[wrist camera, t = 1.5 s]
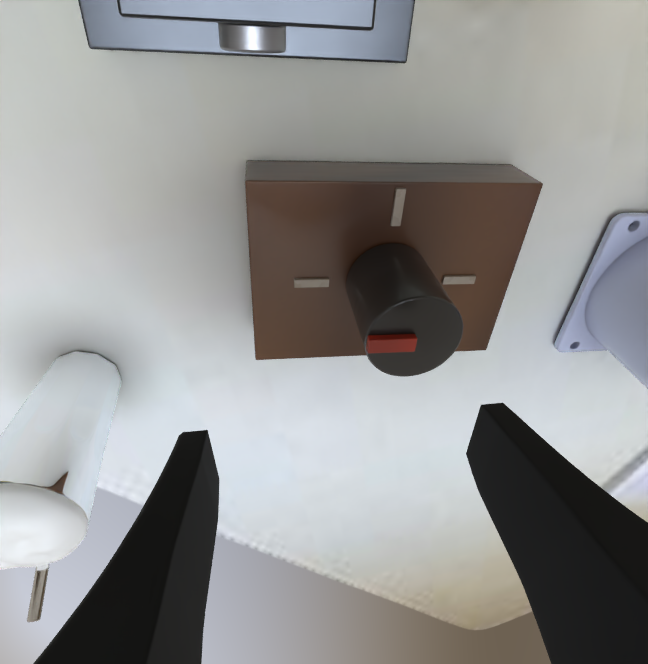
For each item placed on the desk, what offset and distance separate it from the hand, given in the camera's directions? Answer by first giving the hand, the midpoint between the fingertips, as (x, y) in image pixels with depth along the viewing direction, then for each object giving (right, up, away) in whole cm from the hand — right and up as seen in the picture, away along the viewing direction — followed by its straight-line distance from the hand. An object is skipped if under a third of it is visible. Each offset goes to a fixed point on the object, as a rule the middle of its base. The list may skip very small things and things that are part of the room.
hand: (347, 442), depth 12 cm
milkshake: (-13, +1, +11) cm, 17 cm away
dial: (+2, +5, +6) cm, 8 cm away
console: (+2, +7, +8) cm, 11 cm away
